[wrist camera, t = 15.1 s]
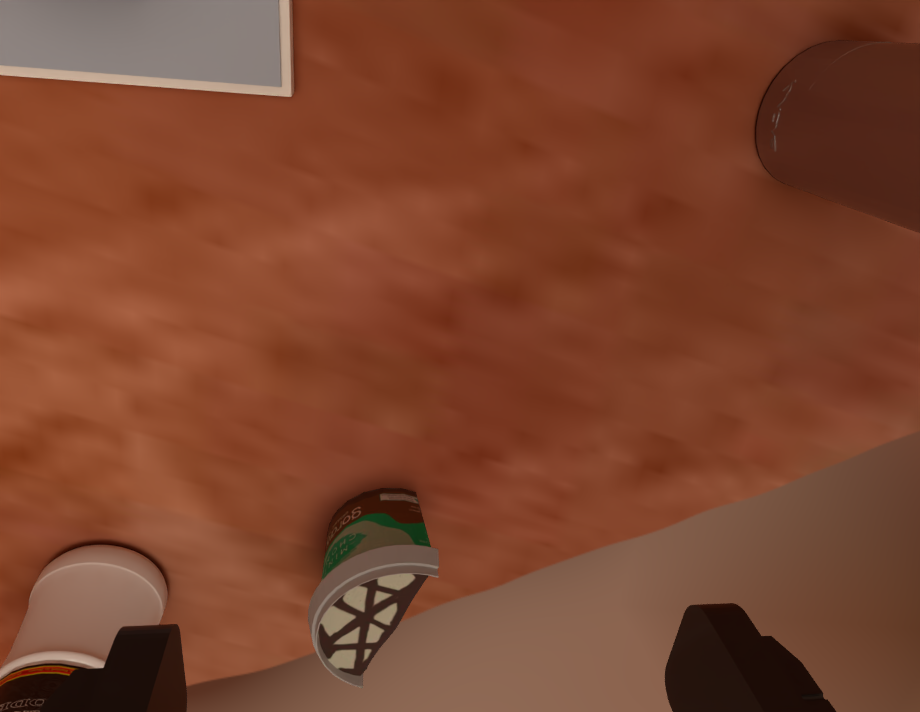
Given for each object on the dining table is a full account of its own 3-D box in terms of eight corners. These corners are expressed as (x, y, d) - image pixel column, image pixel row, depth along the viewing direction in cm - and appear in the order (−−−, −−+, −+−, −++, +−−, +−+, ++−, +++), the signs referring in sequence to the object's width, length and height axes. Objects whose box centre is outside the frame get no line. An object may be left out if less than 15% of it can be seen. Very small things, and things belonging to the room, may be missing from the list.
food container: (353, 452, 50) (356, 544, 41) (424, 478, 52) (442, 571, 43) (287, 567, 54) (276, 674, 45) (355, 587, 56) (359, 693, 47)
